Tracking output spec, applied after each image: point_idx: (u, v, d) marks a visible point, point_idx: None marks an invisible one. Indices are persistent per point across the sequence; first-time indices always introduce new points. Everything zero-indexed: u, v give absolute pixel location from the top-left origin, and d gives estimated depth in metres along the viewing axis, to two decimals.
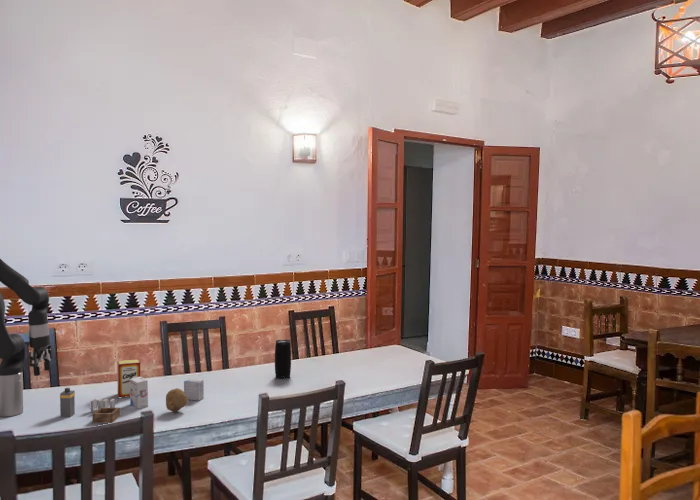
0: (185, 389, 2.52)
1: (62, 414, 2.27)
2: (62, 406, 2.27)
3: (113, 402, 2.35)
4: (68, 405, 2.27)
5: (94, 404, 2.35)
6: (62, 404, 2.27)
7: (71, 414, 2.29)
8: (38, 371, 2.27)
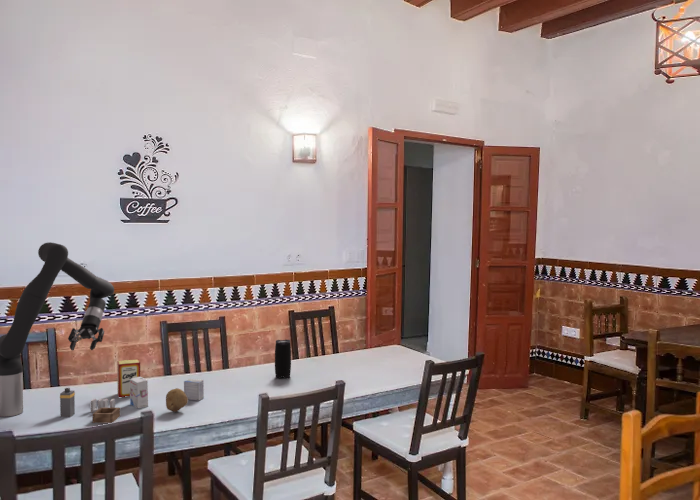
0: (185, 389, 2.52)
1: (62, 414, 2.27)
2: (62, 406, 2.27)
3: (113, 402, 2.35)
4: (68, 405, 2.27)
5: (94, 404, 2.35)
6: (62, 404, 2.27)
7: (71, 414, 2.29)
8: None
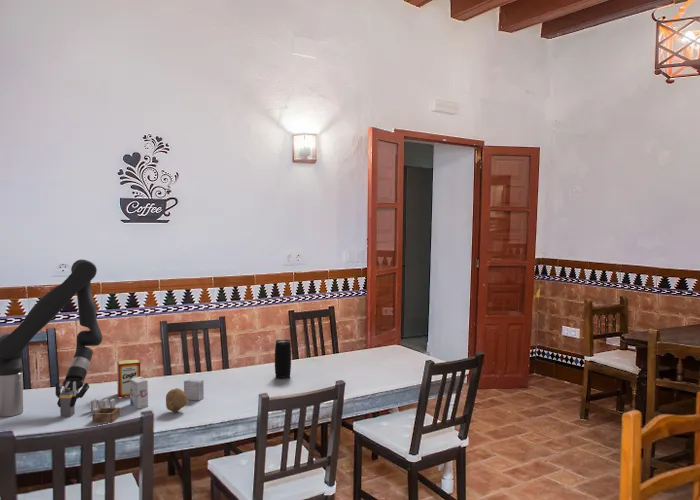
0: (185, 389, 2.52)
1: (62, 414, 2.27)
2: (62, 406, 2.27)
3: (113, 402, 2.35)
4: (68, 405, 2.27)
5: (94, 404, 2.35)
6: (62, 404, 2.27)
7: (71, 414, 2.29)
8: None
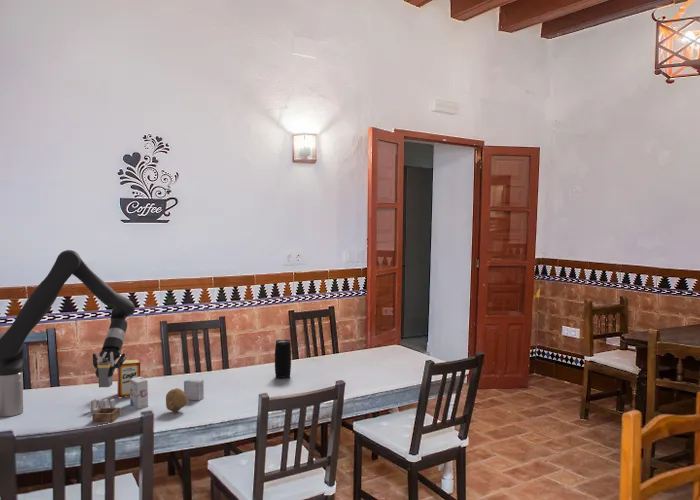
0: (185, 389, 2.52)
1: (100, 384, 2.25)
2: (100, 376, 2.25)
3: (113, 402, 2.35)
4: (106, 375, 2.25)
5: (94, 404, 2.35)
6: (100, 374, 2.25)
7: (109, 384, 2.27)
8: None
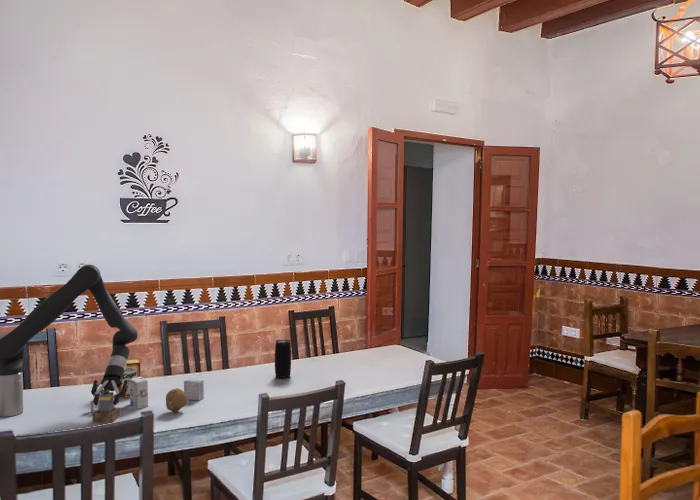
0: (185, 389, 2.52)
1: None
2: (101, 408, 2.23)
3: None
4: (107, 407, 2.23)
5: (94, 404, 2.35)
6: (101, 406, 2.23)
7: None
8: None
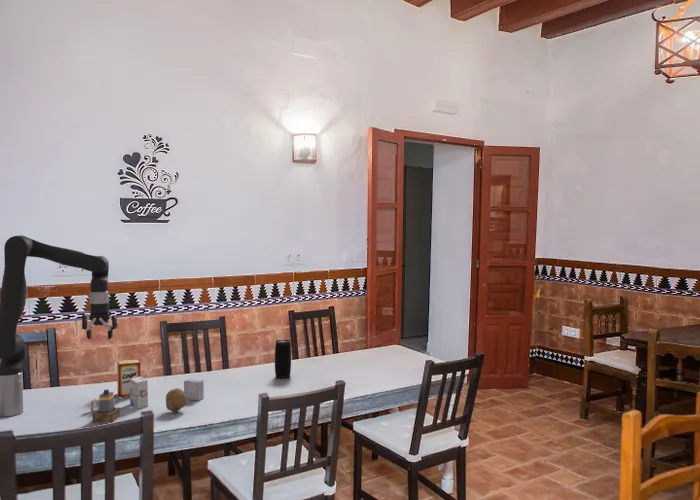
0: (185, 389, 2.52)
1: None
2: (101, 408, 2.23)
3: (113, 402, 2.35)
4: (107, 407, 2.23)
5: (94, 404, 2.35)
6: (101, 406, 2.23)
7: None
8: None
